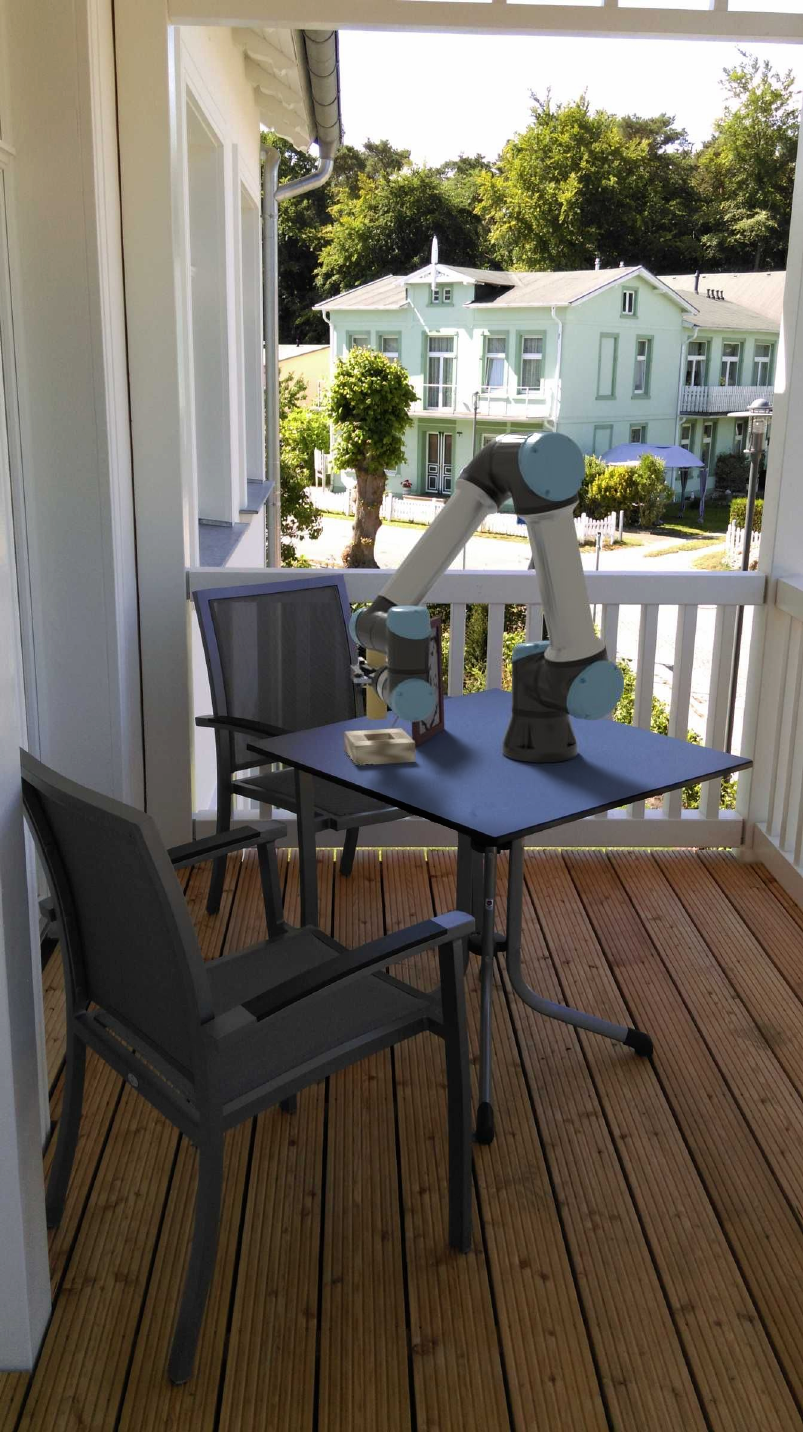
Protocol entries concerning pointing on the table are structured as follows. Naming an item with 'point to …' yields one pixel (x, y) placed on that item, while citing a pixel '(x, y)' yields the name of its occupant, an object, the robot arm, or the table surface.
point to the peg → (374, 703)
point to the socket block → (379, 746)
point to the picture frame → (436, 718)
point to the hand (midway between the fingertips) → (371, 663)
